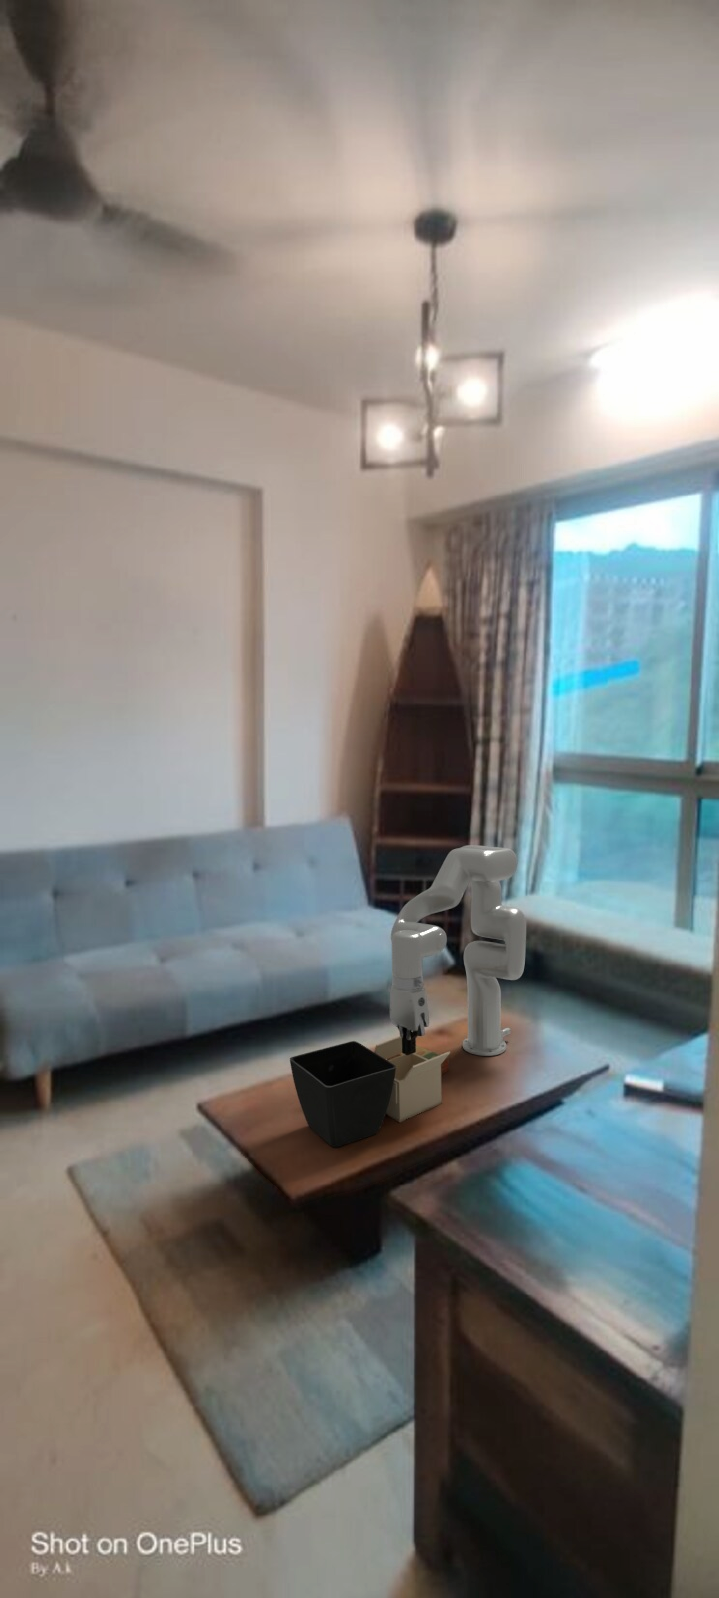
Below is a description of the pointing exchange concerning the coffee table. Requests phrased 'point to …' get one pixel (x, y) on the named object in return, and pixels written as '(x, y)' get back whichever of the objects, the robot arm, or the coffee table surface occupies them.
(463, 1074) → the coffee table surface
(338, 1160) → the coffee table surface
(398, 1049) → the far flap
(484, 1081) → the coffee table surface
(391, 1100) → the shipping box
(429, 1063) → the near flap
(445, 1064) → the carton
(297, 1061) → the flower pot
